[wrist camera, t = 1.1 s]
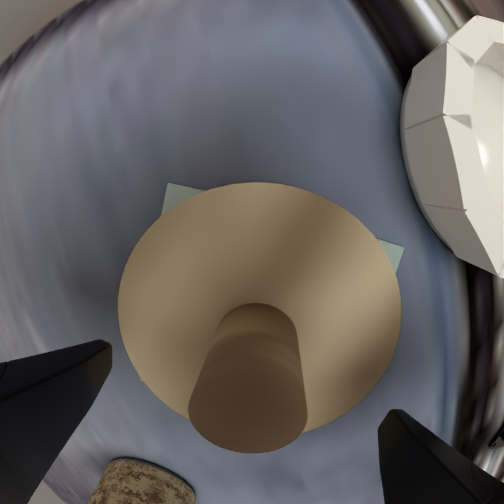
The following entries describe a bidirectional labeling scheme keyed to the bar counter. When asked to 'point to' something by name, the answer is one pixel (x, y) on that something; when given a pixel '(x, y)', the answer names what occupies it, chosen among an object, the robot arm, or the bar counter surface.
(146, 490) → the camo cylindrical pouch
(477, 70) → the bowl
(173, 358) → the lid
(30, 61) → the bar counter surface
